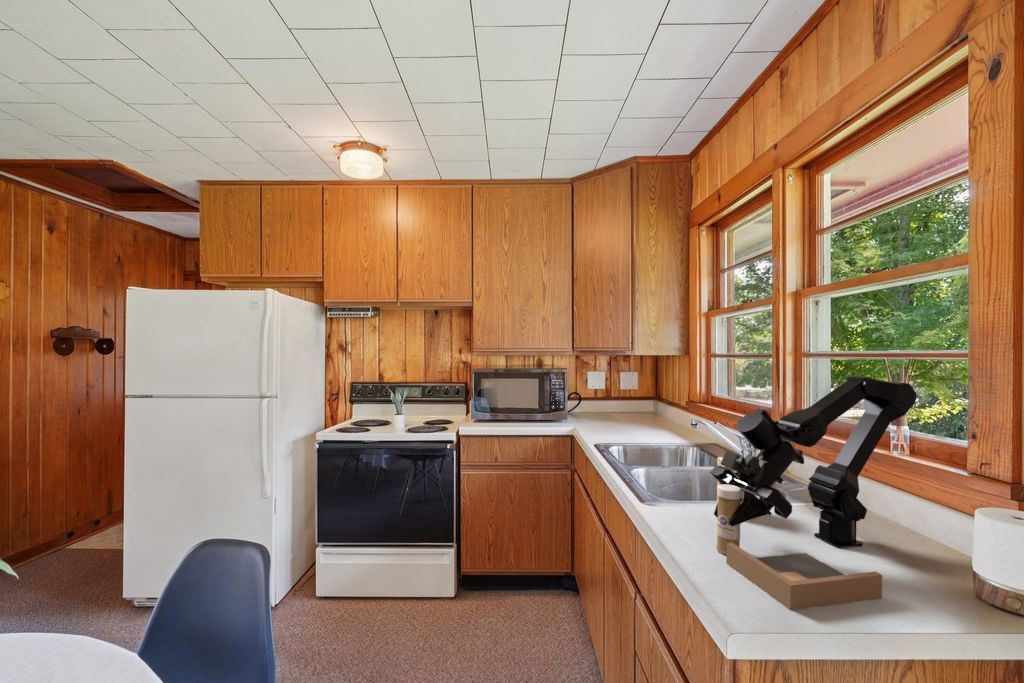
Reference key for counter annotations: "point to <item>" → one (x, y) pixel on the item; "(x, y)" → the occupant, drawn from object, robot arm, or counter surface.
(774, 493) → the robot arm
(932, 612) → the counter surface
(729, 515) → the sprinkles bottle
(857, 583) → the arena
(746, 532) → the counter surface
